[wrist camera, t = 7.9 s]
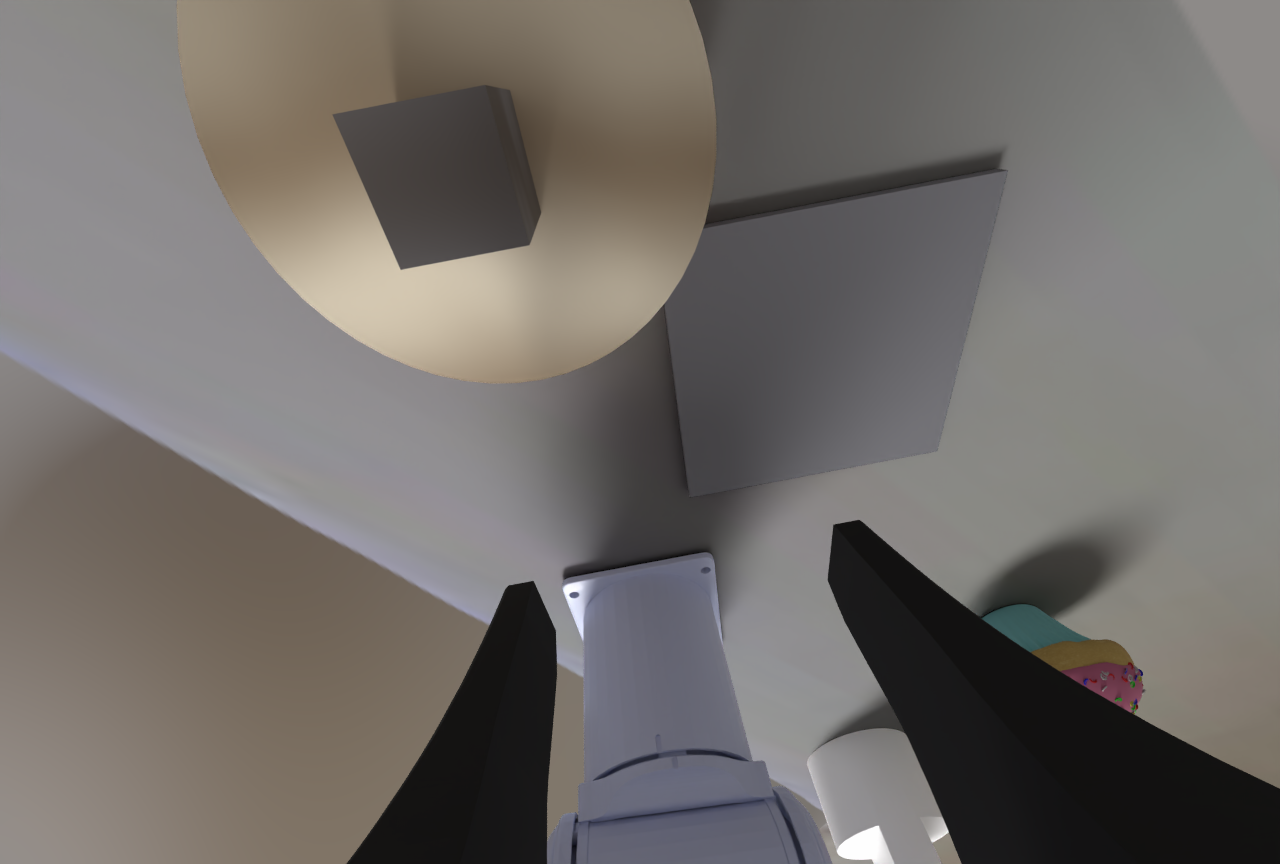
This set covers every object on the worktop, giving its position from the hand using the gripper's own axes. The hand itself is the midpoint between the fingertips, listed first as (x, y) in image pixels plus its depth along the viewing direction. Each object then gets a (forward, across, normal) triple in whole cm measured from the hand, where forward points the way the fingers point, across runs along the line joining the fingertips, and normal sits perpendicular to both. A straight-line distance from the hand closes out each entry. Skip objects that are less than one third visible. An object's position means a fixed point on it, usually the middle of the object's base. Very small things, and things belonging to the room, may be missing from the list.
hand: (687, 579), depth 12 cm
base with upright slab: (+10, -13, +40) cm, 43 cm away
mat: (+9, -7, 0) cm, 12 cm away
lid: (+6, +3, -9) cm, 11 cm away
